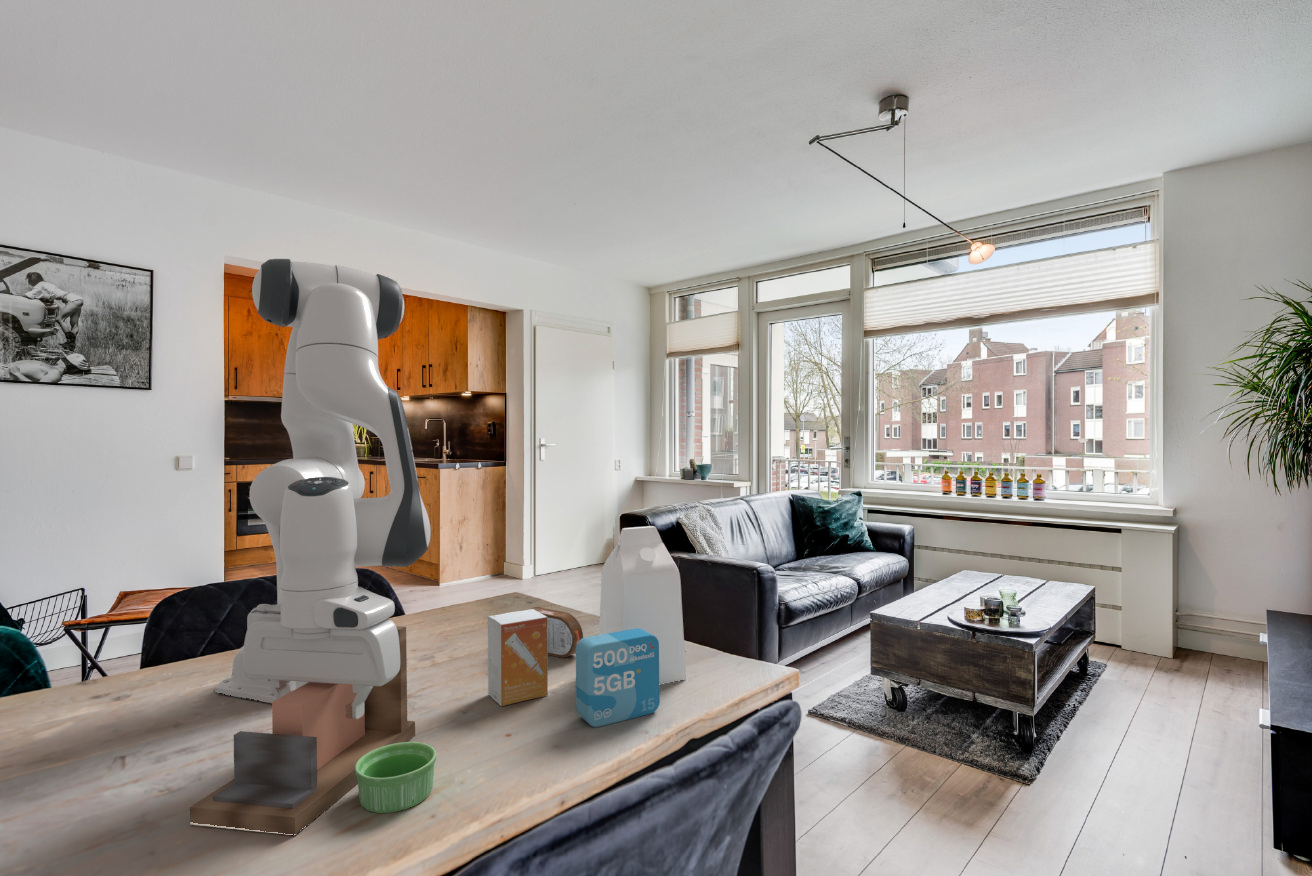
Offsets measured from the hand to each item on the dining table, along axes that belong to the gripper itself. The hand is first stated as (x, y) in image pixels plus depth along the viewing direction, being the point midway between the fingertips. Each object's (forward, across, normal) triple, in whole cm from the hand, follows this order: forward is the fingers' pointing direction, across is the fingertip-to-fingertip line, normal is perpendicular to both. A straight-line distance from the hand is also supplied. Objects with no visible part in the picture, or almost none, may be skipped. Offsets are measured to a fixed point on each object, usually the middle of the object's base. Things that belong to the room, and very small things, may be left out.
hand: (321, 714), depth 84 cm
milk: (+7, +34, +39) cm, 52 cm away
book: (+5, 0, 0) cm, 5 cm away
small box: (+7, +16, +27) cm, 32 cm away
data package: (+7, +34, +22) cm, 41 cm away
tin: (+7, +14, +48) cm, 50 cm away
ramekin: (+7, +13, -4) cm, 15 cm away
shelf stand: (+7, 0, 0) cm, 7 cm away
